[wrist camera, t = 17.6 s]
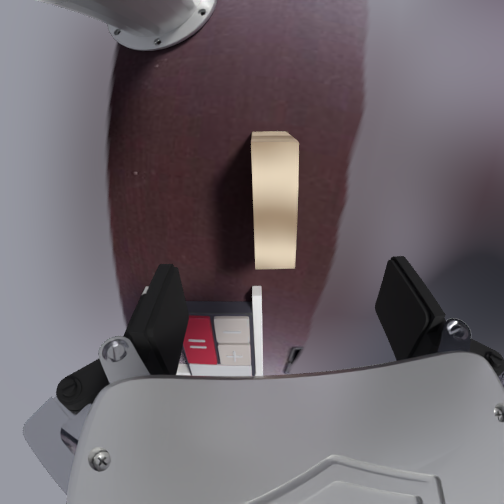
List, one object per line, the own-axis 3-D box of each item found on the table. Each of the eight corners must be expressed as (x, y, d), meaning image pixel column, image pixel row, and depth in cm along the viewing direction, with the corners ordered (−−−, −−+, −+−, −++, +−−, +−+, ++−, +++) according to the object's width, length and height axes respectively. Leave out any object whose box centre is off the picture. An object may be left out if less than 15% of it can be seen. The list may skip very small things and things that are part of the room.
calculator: (252, 317, 35) (254, 382, 42) (253, 297, 39) (255, 363, 46) (171, 315, 35) (190, 380, 42) (178, 296, 39) (194, 362, 46)
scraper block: (252, 131, 27) (250, 142, 19) (285, 131, 26) (298, 141, 19) (255, 226, 32) (255, 269, 24) (285, 225, 32) (294, 268, 24)
